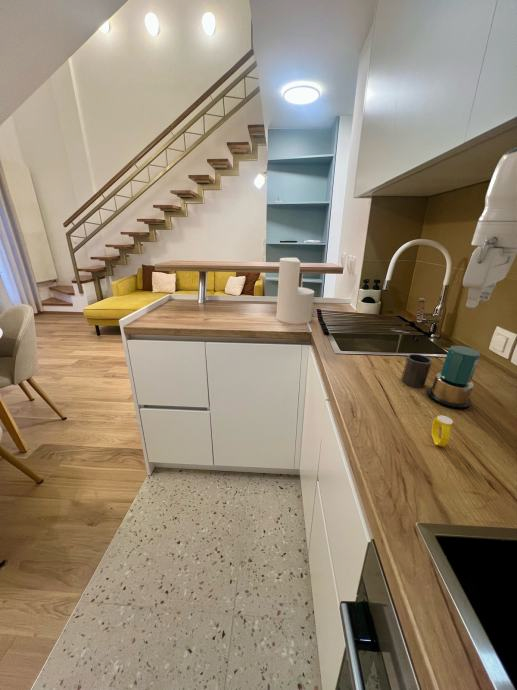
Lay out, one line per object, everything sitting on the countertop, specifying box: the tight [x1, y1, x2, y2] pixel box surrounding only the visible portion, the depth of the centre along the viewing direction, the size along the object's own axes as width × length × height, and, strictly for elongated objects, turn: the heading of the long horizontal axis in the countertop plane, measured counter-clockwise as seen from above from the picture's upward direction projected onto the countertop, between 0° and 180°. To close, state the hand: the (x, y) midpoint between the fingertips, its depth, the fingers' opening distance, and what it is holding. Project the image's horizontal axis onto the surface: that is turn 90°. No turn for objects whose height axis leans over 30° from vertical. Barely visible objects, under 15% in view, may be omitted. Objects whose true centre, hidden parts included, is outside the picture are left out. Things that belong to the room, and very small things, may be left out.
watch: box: [431, 414, 454, 447], centre depth 59 cm, size 6×3×6 cm, turn 163°
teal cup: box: [440, 345, 481, 385], centre depth 72 cm, size 6×6×8 cm
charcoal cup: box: [400, 353, 433, 389], centre depth 82 cm, size 6×6×8 cm
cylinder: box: [275, 257, 315, 325], centre depth 133 cm, size 17×17×28 cm
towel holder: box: [426, 372, 475, 411], centre depth 73 cm, size 10×10×14 cm
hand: (477, 303), depth 62 cm, fingers open, 8 cm apart
